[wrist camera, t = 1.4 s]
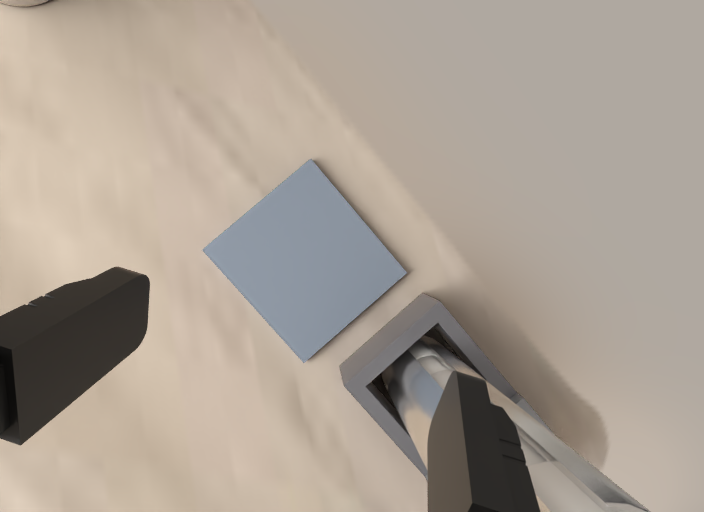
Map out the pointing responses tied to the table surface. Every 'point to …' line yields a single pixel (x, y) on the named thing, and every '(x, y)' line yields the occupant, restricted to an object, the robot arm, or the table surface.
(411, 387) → the chrome and white cylinder
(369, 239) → the rubber mat
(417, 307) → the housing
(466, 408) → the robot arm
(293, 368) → the table surface
